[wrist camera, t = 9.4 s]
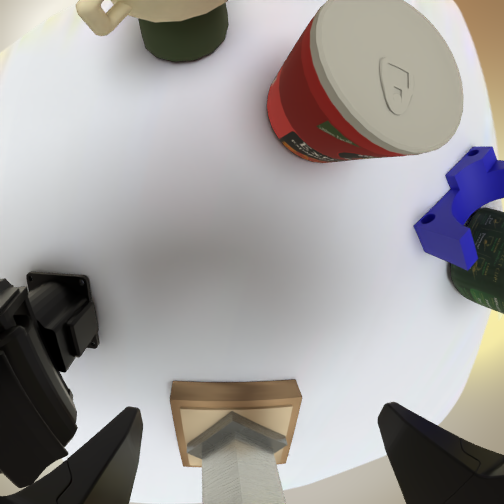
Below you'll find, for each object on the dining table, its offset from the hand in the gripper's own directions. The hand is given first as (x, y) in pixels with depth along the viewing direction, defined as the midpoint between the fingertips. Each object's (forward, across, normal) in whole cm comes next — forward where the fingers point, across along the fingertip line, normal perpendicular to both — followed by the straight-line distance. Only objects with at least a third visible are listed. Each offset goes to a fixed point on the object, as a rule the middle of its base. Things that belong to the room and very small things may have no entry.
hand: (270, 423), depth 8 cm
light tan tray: (+13, 0, +15) cm, 20 cm away
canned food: (+14, -4, -14) cm, 20 cm away
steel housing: (+10, 0, +15) cm, 18 cm away
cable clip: (+14, -19, -10) cm, 25 cm away
